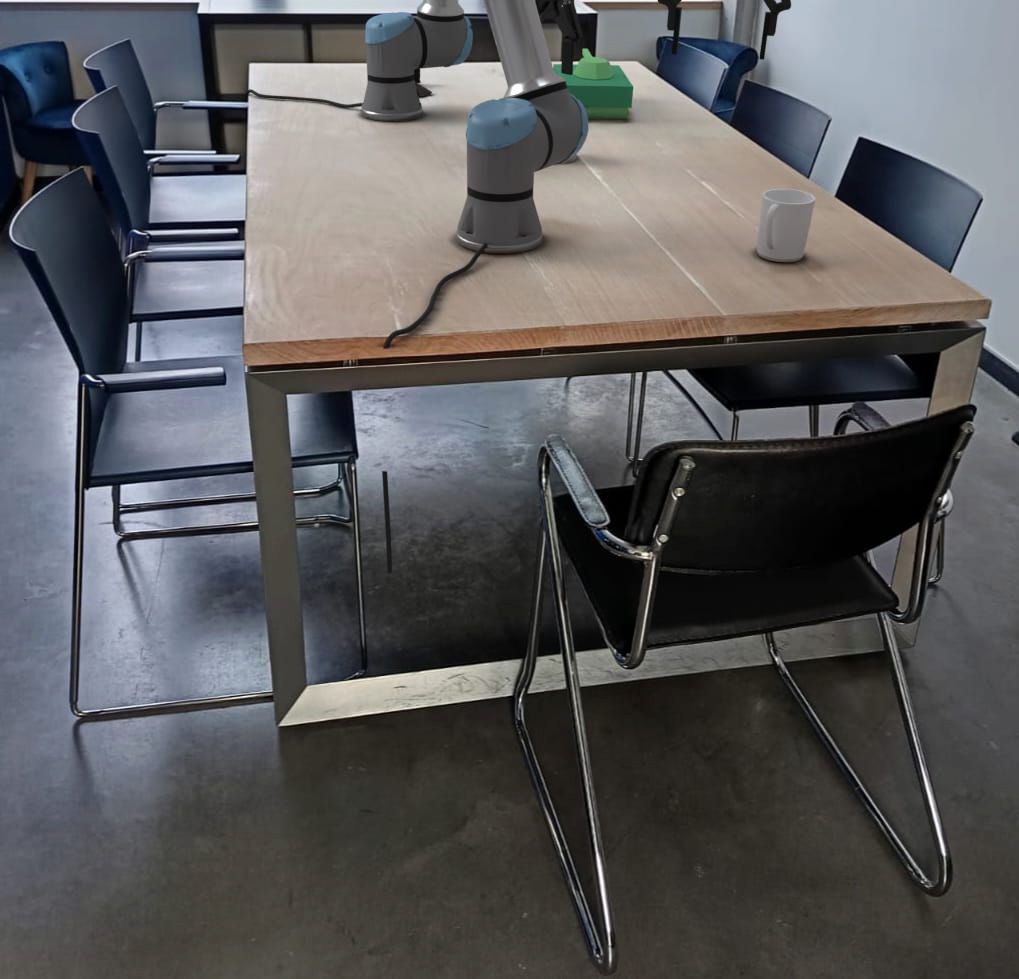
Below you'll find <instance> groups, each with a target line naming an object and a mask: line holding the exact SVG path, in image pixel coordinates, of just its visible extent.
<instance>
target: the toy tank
mask: <svg viewBox="0 0 1019 979" xmlns="http://www.w3.org/2000/svg"><path fill="white" fill-rule="evenodd" d="M581 51H582V53H581V54H582V56H583V57H582V58H581V59H580V60H579V61H578V63H577V64H574V63H573V75H568V74H562V73H561V64H562V63H560V64H559V63H552V66H553V70H554V72H555V73H556V74H557V75H559V76H561V77H562V78H564V79H565V81H566V85H567V88H568V92H569V94H571V95H573V96H575V98H576V99H577V100H580V101H581V103H582V104H583V106H584V108H585V110H586V113H587V117H588V119H611V120H613V119H615V120H616V119H620V120H621V119H622V120H627V119H628V114H629V109H632V108H633V96H634V95H633V94H634V85H633V84H632V83H631V80H630V79H629V78H628V77H627V75H626V73H625V72H624V70H623V69H622V67H621V66H620V65H618V64H611V63H610V61H609V60H608V59H606V58H604V57H597V56H593V55H592V54H591V52H590V50H589V48H582V50H581Z"/></svg>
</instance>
